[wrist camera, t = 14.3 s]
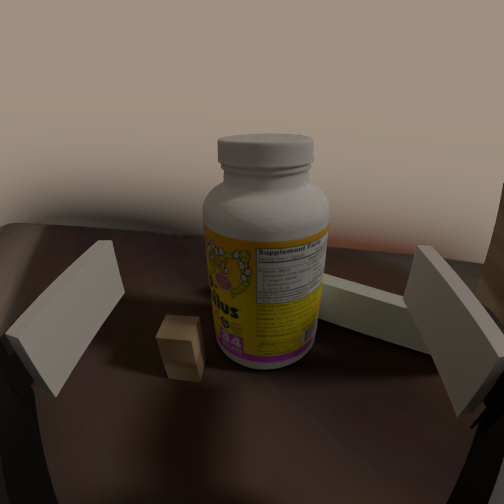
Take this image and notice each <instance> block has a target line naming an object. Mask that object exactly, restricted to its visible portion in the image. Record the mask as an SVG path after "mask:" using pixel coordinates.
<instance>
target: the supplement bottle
mask: <svg viewBox="0 0 504 504" xmlns="http://www.w3.org/2000/svg"><path fill="white" fill-rule="evenodd" d="M313 160H314V157H313V139H312V138H310V137H307V136H301V135H291V134H247V135H237V136H228V137H223V138H220V139H219V140H218V162H219V163H221V168H222V169H223V170H224V181H223V183H221V184H219V185H218V186H216V187H215V188H213V189H212V190H211V191H210V192H209V194H208V195H207V197H206V199H205V201H204V204H203V222H204V232H205V243H206V255H207V264H208V275H209V283H210V293H211V301H212V309H213V317H214V325H215V332H216V338H217V341H218V344H219V346H220V348H221V349H222V351H223V352H224V353H225V354H226V355H227V356H228V357H229V358H230V359H232V360H233V361H235V362H237V363H239V364H241V365H243V366H246V367H249V368H254V369H265V370H268V369H277V368H281V367H284V366H287V365H290V364H292V363H294V362H296V361H298V360H299V359H301V358H302V357H303V356H304V355H305V354H306V353H307V352H308V351H309V349H310V348H311V346H312V344H313V342H314V338H315V333H316V328H317V321H318V314H319V308H320V300H321V292H322V284H323V275H324V265H325V256H326V247H327V236H328V227H329V213H330V207H329V203H328V200H327V198H326V196H325V194H324V193H323V192H322V190H320V189H319V188H318V187H317V186H316V185H314V184H312V183H310V182H309V179H308V170H309V169H310V168H311V162H313Z"/></svg>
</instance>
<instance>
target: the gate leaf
mask: <svg viewBox="0 0 504 504" xmlns="http://www.w3.org/2000/svg"><path fill="white" fill-rule="evenodd" d="M318 318H319V319H322V320H325V321H328V322H331V323H334V324H337V325H340V326H343V327H346V328H348V329H351V330H354V331H357V332H360V333H363V334H366V335H370V336H373V337H376V338H379V339H382V340H385V341H388V342H391V343H394V344H397V345H401V346H404V347H407V348H410V349H414V350H417V351H420V352H423V353H427V354H430V352H429V350H428V348H427V346H426V344H425V342H424V340H423V337H422V335H421V333H420V331H419V329H418V327H417V325H416V324H415V322H414V320H413V318H412V316H411V314H410V312H409V310H408V308H407V306H406V304H405V303H404V301H403V297H402V296H399V295H395V294H392V293H389V292H385V291H382V290H378V289H375V288H372V287H368V286H365V285H361V284H358V283H355V282H351V281H348V280H344V279H341V278H338V277H334V276H331V275H327V274H324V275H323V284H322V292H321V300H320V308H319V314H318ZM430 355H431V354H430Z"/></svg>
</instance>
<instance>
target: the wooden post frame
mask: <svg viewBox="0 0 504 504" xmlns="http://www.w3.org/2000/svg"><path fill="white" fill-rule="evenodd" d="M474 296H475V297H476V298H477V299H478V301H479V302H480V303H481V304H483V305H485V306H486V307H487V308H489V309H490V310H491V311H492V312H493V313H494V314H495V316H496V317H497V318H498V320H499V323H500V322H501V324H502V325H503V326H504V183H503V189H502V194H501V200H500V205H499V210H498V214H497V219H496V223H495V227H494V231H493V235H492V239H491V243H490V246H489V249H488V253H487V256H486V259H485V263H484V265H483V269H482V272H481V275H480V277H479V280H478V283H477V286H476V289H475V291H474ZM155 338H156V341H157V344H158V348H159V351H160V354H161V357H162V360H163V363H164V366H165V369H166V372H167V375H168V378H169V379H175V380H183V381H192V382H201V378H202V374H203V370H204V366H205V362H206V354H205V348H204V342H203V337H202V331H201V325H200V319H199V317H196V316H180V315H166V316H165V318H164V320H163V322H162V324H161V326H160V329H159V331H158V333H157V335H156V337H155Z"/></svg>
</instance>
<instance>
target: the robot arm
mask: <svg viewBox="0 0 504 504" xmlns="http://www.w3.org/2000/svg"><path fill="white" fill-rule="evenodd" d="M124 293H125V292H124V288H123V284H122V281H121V277H120V273H119V269H118V265H117V261H116V257H115V253H114V248H113V244H112V241H97V242H96V243H95V244H94V245H93V246H91V247H90V248H89V249H88V250H87V251H86V252H85V253H84V254H83V255H81V256H80V257H79V258H78V259H77V260H76V261H75V262H74V263H73V264H72V265H71V266H70V267H68V268H67V269H66V270H65V271H64V272H63V273H62V274H61V275H60V276H59V277H58V278H57V279H56V280H55V281H54V282H53V283H52V284H51V285H50V286H49V287H48V288H47V289H46V290H45V291H44V292H43V293H42V294H41V295H40V296H39V297H38V298H36V299H35V300H34V301H33V302H32V303H31V304H30V305H29V306H28V307H27V309H25V310H24V311H23V312H22V314H21V316H19V317H18V318H17V319H16V320H15V321H14V322H13V323H12V325H11V326H10V327H9V328H8V329H7V330H6V331H5V332H4V334H3V335H2V336H1V337H0V504H58V501H57V498H56V495H55V492H54V489H53V486H52V482H51V479H50V475H49V472H48V468H47V464H46V460H45V455H44V451H43V446H42V441H41V436H40V431H39V425H38V419H37V412H36V404H35V396H34V392H33V389H32V388H31V387H30V386H31V384H32V383H33V381H34V382H35V383H36V385H37V386H38V388H39V389H40V390H41V392H43V393H46V394H48V395H51V396H53V397H57V395H58V393H59V391H60V390H61V388H62V386H63V385H64V383H65V381H66V380H67V378H68V377H69V375H70V373H71V372H72V370H73V368H74V367H75V365H76V364H77V362H78V361H79V359H80V357H81V356H82V354H83V353H84V351H85V350H86V348H87V347H88V345H89V344H90V342H91V341H92V339H93V338H94V336H95V335H96V333H97V332H98V330H99V329H100V327H101V326H102V324H103V323H104V321H105V320H106V318H107V317H108V315H109V314H110V313H111V311H112V310H113V308H114V307H115V305H116V304H117V303H118V301H119V300H120V298H121V297H122V296H123V294H124ZM403 301H404V303H405V304H406V306H407V308H408V310H409V312H410V314H411V316H412V318H413V320H414V322H415V324H416V325H417V327H418V329H419V331H420V333H421V335H422V337H423V340H424V342H425V344H426V346H427V348H428V350H429V352H430V354H431V356H432V358H433V361H434V363H435V365H436V367H437V369H438V372H439V374H440V376H441V379H442V381H443V383H444V386H445V388H446V390H447V393H448V395H449V398H450V400H451V403H452V405H453V408H454V410H455V413H456V416H457V417H460V416H463V415H467V414H470V413H473V412H475V410H476V409H477V408H478V407H479V405H480V404H481V403H482V402H484V404H485V406H486V408H485V410H484V411H483V412H482V413H481V415H480V416H479V417H478V418H477V419H476V420H475V422H474V423H473V424H472V426H471V427H470V428H472V429H473V428H474V427H475V426H476V425H477V423H479V424H478V428H477V429H476V434H475V437H474V440H473V443H472V445H471V448H470V451H469V454H468V456H467V459H466V461H465V464H464V466H463V469H462V471H461V473H460V476H459V478H458V480H457V482H456V485H455V487H454V489H453V491H452V493H451V495H450V497H449V499H448V501H447V503H446V504H504V326H503V325H502V324H501V322H500V323H499V320H498V318H497V317H496V316H495V314H494V313H493V312H492V311H491V310H490V309H489V308H487V307H486V306H485V305H483V304H481V303H480V302H479V301H478V299H477V298H476V297H475V296H474V294H473V293H472V292H471V291H470V289H469V288H468V287H467V286H466V285H465V283H464V282H463V281H462V280H461V279H460V277H459V276H458V275H457V274H456V273H455V272H454V271H453V269H452V268H451V267H450V266H449V265H448V264H447V263H446V261H445V260H444V259H443V258H442V257H441V256H440V255H439V254H438V253H437V252H436V250H435V249H434V248H433V247H432V246H421V245H417V246H416V250H415V255H414V259H413V263H412V267H411V271H410V275H409V279H408V283H407V286H406V290H405V293H404V297H403Z"/></svg>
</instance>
